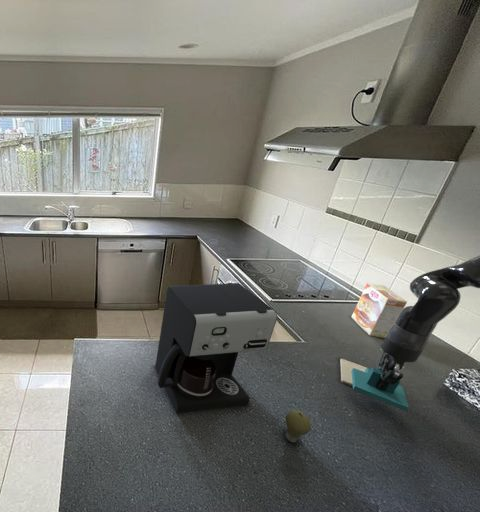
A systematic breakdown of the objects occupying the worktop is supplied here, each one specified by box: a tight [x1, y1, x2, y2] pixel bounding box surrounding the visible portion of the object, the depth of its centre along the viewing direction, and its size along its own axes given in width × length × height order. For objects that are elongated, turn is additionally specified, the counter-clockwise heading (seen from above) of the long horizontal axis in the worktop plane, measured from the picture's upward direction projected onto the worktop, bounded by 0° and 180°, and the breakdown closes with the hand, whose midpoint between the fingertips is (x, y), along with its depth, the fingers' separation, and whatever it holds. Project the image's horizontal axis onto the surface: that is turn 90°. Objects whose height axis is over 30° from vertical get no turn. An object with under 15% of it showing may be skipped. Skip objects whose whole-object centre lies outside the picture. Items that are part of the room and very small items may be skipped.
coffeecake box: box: [351, 282, 408, 339], centre depth 126 cm, size 15×7×20 cm, turn 164°
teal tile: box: [351, 366, 410, 412], centre depth 88 cm, size 12×14×6 cm
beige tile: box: [339, 358, 367, 387], centre depth 99 cm, size 14×14×2 cm
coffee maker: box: [154, 282, 278, 414], centre depth 87 cm, size 28×20×35 cm
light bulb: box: [285, 409, 312, 443], centre depth 76 cm, size 6×6×10 cm
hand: (379, 385), depth 87 cm, fingers closed on teal tile, 2 cm apart
